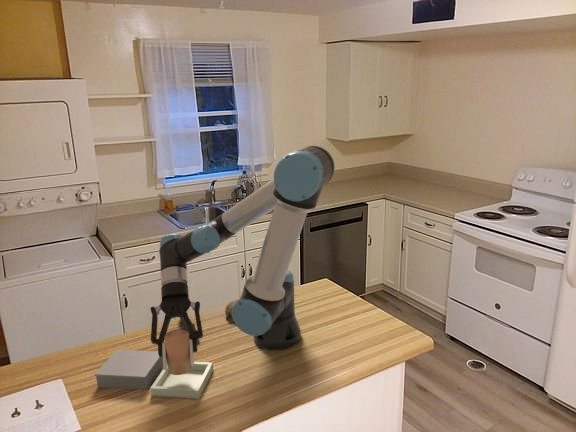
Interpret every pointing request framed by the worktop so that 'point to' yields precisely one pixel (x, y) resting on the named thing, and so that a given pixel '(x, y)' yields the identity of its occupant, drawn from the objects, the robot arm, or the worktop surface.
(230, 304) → the bread roll
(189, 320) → the hand tool
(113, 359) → the grey square plinth
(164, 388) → the tray
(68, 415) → the worktop surface
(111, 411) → the worktop surface
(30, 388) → the worktop surface
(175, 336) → the terracotta domed cylinder
